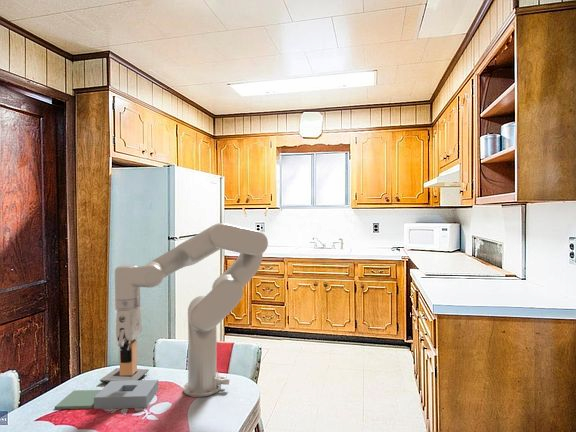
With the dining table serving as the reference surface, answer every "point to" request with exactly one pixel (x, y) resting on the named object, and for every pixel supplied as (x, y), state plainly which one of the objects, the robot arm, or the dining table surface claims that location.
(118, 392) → the grey socket block
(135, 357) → the plug
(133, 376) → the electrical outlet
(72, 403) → the mat
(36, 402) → the dining table surface
